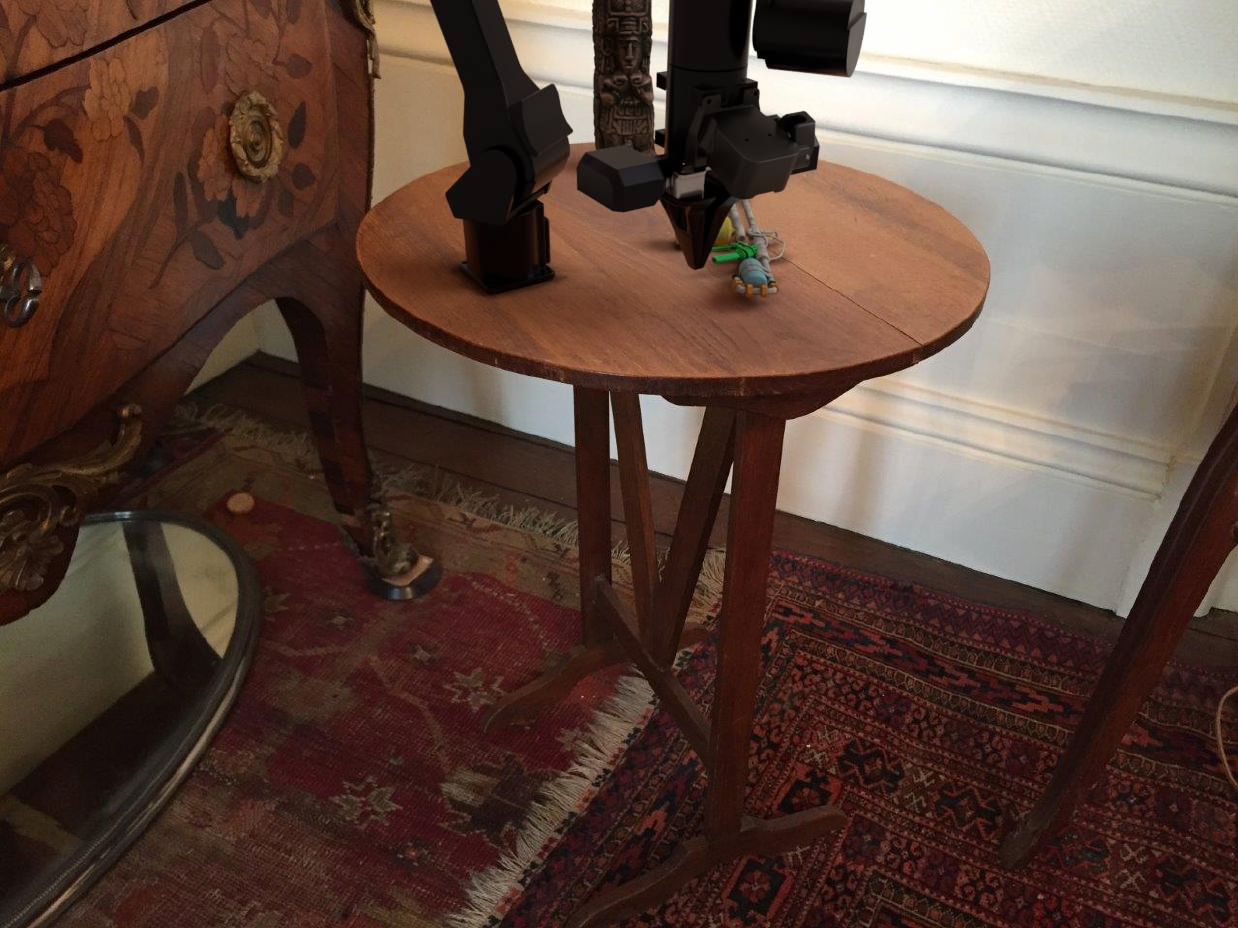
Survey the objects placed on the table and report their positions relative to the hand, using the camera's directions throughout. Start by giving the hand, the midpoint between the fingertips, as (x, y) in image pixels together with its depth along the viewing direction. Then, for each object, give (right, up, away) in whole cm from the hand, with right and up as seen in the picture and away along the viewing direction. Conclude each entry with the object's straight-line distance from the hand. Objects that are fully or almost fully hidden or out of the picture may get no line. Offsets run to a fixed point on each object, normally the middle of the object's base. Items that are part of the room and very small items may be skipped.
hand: (695, 267), depth 77 cm
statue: (-5, +18, +31) cm, 36 cm away
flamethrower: (+4, +5, +14) cm, 15 cm away
